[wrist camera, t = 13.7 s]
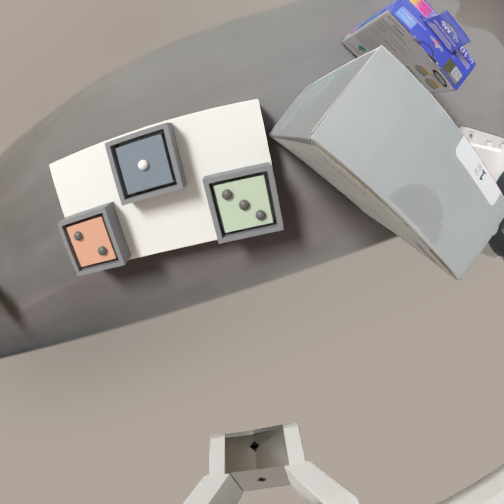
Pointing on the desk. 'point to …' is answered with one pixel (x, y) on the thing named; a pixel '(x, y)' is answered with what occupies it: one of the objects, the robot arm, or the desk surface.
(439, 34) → the ink cartridge box
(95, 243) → the button two
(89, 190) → the button panel
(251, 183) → the button three
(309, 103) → the hard drive box
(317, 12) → the desk surface
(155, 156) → the button one
